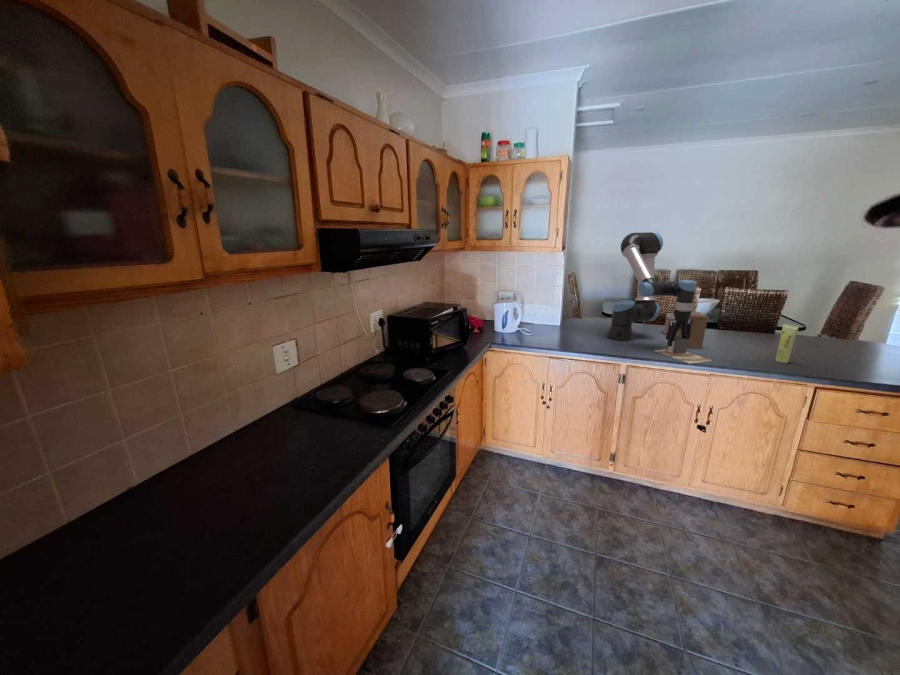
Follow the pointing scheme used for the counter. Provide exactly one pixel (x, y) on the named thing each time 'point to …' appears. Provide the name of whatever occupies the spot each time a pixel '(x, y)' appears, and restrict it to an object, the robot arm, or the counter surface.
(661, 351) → the board
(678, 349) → the block
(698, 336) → the wooden block
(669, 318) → the planter
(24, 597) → the counter surface
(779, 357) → the tube
